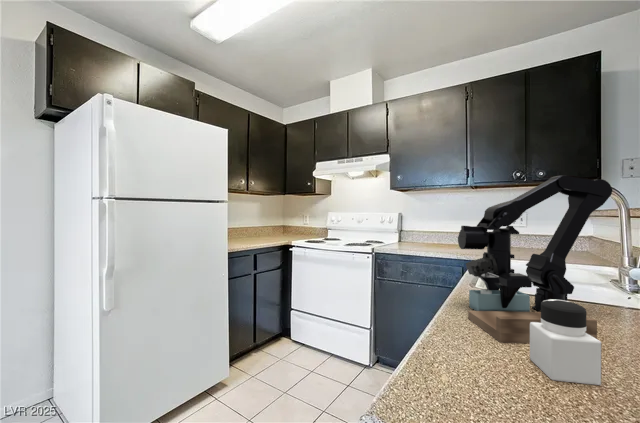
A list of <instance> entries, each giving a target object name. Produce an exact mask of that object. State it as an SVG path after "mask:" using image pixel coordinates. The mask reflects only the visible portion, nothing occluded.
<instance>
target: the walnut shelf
mask: <svg viewBox="0 0 640 423" xmlns="http://www.w3.org/2000/svg"><path fill="white" fill-rule="evenodd" d="M467 319H468V320H470V322H472V323H474V324H475V325H476V326H478V327H479V328H480V329H481V330H483V331H484V332H486V333H487V334H488V335H490V336H491V337H492V338H493V339H495V340H496V341H498V342H499V343H503V344H504V343H505V344H506V343H507V344H530V323H531V322H538V323H541V312H540V311H530V312H515V311H475V310H468V311H467ZM585 333H587V334H589V335H591V336H592V337H594V338H596V339H598V320H597V319H594V318H592V317H586V332H585Z"/></svg>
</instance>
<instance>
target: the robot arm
mask: <svg viewBox="0 0 640 423" xmlns="http://www.w3.org/2000/svg"><path fill="white" fill-rule="evenodd" d="M558 193H560V194H562V195H565V196H568V197H567V202H568V208H567V210H566V212H565V213H564V216H563V217H562V219H561V220H560V223H559V225H558V226H557V228H556V230H555V232H554V233H553V235H552V237H551V238H550V241H549V243H547V245H546V248H545V250H543V252H541V253H540V254H538V253H532V254H531V255H530V258H529V261H528V262H527V263H525V266H526V269H525V273H526V274H523V273H519V272H518V273H515V269H513V268H512V267H511V266H512V263H511V262H512V261H511V260H512V259H515V254H512V253H511V252H512V250H511V249H512V248H511V247H512V246H511V245H512V239H511V238H512V237H511V236H512V235H519V234H520V231H518V230H517V229H516V228H515V227H514V226H513V225H512V224H513V223H515V222H516V221H517V220H519V219H520V218H521V216H522V215H523V214H524V213H525V212H526V211H528V210H529V209H531V208H533V207H535V206H537V205H538V204H540V203H542V202H544V201H545V200H547V199H549V198H551V197H554V196H555V195H557V194H558ZM612 193H613V187H612V186H611V184H610V183H609V181H607V180H605V179H602V178H600V179H591V178H590V179H589V178H580V177H574V176H568V175H565V174H563V175H555V176H551V177H549V178H548V179H547V180H546V181H544V182H542V183H540V184H539V185H537V186H535V187H533V188H531V189H529V190H528V191H526V192H523V193H522V194H519V196H517V197H515V198H513V199H510V200H508V201H504V202H500V203H497V204H494V205H492V206H489V207H487V208H486V209H485V211H484V214H483V217H482V218H481V220H480V221H479V222H478V224H476V226H470V225H461V227H460V230H459V232H458V236H457V243H458V247H459V249H460V250H482V251H483V250H485V248H486V249H487V250H486V252H485V251H483V253H482V257H481V258H477V259H474V260H471V261H469V262H466V263H465V267H466V268H467V271H468V274H469V275H472V276H473V277H477V278H479V279H480V280H481V281H483V282H484V285H485V289H486V290H500V296H501V304H502V308H507V307H508V305H509V303H510V302H511V300H512V299H513V297H514V296H515V294H516V293H517V291H520V289H521V288H532V287H533V286H534V287H536V289H535V290H536V292H535V293H534V305H532V307H531V308H532V309H534V310H536V311H537V312H541V302H543V301H545V300H550V299H556V300H564V301H568V295H572V294H573V292H574V289H575V286H574V284H572V283H571V282H570V281H569V280H568V279H566V277H565V275H566V272H567V264H566V259H567V256H568V255H569V253H570V251H571V249H572V248H573V246H574V244H575V242H576V240H577V239H578V237H579V235H580V234H581V232H582V230H583V229H584V227H585V225H586V222H587V221H588V219H589V218H590V216H591V214H592V213H594V212H595V211H596V210H598V209H599V208H601V207H602V206H603V205H604V204H605V203H606V202H607V201H608V199H609V198H610V197H611V196H612Z"/></svg>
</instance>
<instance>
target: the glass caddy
mask: <svg viewBox="0 0 640 423" xmlns="http://www.w3.org/2000/svg"><path fill="white" fill-rule="evenodd" d="M468 291H469V292H468V294H469V295H468V296H469V300H468V301H469V302H468V304H469V306H468V307H469V308H470V309H471V310H473V309H474V310H473V311H515V312H531V309H530V308H531V302H530V301H531V298H530V297H531V295H529V294H527V293H524V292H523V291H520V290H518V291H517V293H516V294H515V296H514V297H513V299H512V300H511V302H510V303H509V305H508V307H507V308H502V304H501V296H500V289H499V290H487V288H485V289H483V288H482V289H469V290H468Z"/></svg>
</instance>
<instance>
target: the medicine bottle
mask: <svg viewBox="0 0 640 423" xmlns="http://www.w3.org/2000/svg"><path fill="white" fill-rule="evenodd" d="M586 318H587V309H586V308H585V307H584V306H582V305H580V304H578V303H575V302H572V301H569V300H567V301H564V300H556V299H550V300H545V301H543V302H541V323H538V322H531V323H530V343H529V359H530V361H531V362H532V363H533V364H535V366H537V368H538V369H540V370H541V371H542V372H543V373H544V374H545V375H546V377H549V379H550V380H552V381H557V382H567V383H574V384H575V383H576V384H583V385H584V384H585V385H593V386H601V385H602V341H601V340H599V339H598V338H597V339H596V338H594V337H592V336H591V335H589V334H587V333H585V332H586Z"/></svg>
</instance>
